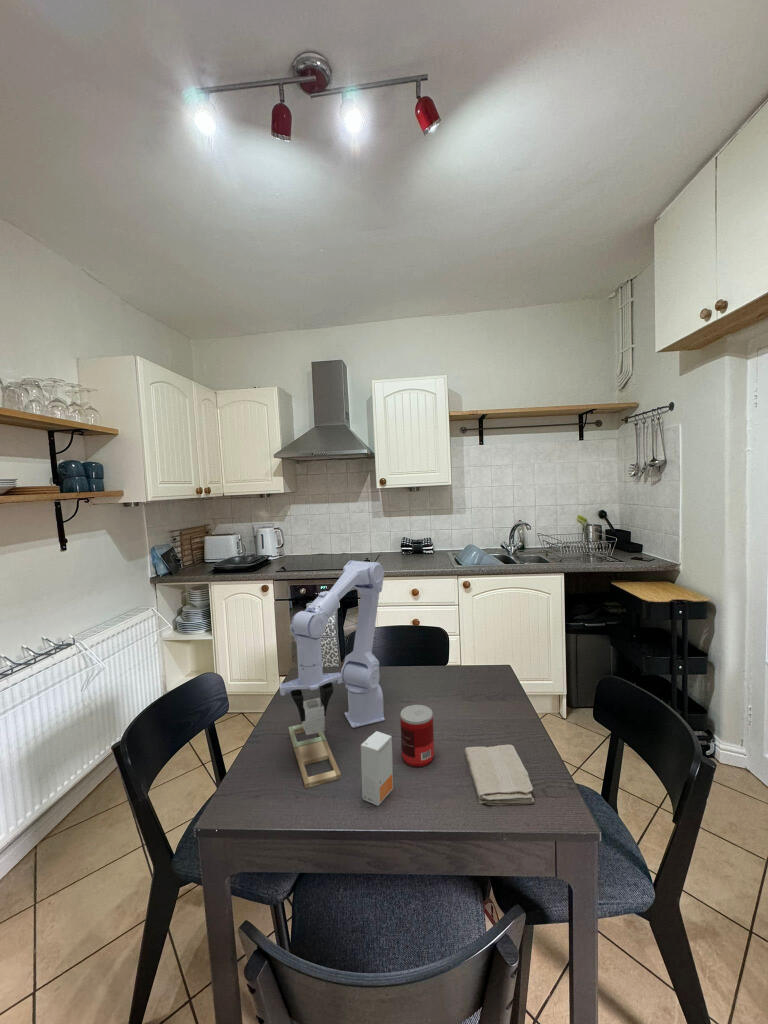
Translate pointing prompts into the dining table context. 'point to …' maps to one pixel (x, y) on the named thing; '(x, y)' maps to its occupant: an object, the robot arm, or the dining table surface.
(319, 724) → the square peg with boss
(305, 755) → the wooden peg board
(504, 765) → the washcloth
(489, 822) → the dining table surface
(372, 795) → the skincare box
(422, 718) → the canned food
